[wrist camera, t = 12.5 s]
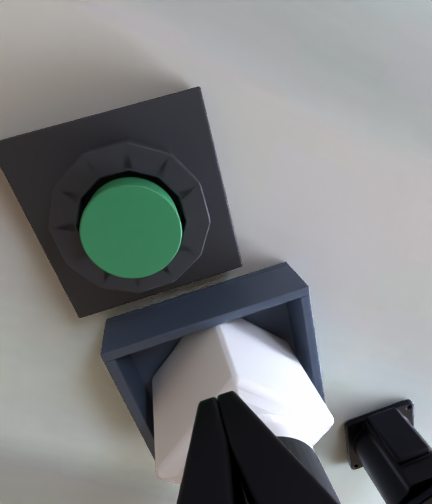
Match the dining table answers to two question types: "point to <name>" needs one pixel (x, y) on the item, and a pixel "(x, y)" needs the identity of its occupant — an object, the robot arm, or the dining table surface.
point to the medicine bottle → (247, 388)
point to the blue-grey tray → (202, 317)
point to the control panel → (118, 166)
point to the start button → (130, 228)
